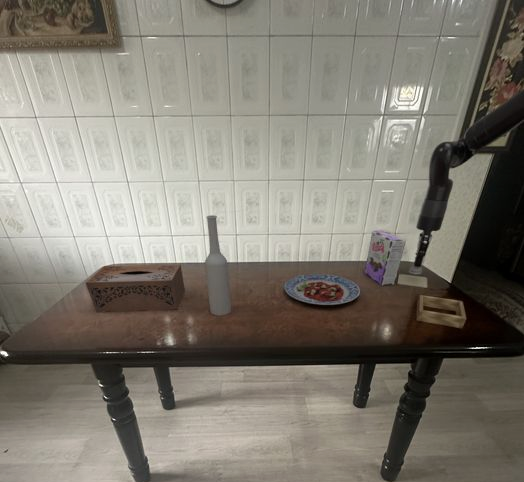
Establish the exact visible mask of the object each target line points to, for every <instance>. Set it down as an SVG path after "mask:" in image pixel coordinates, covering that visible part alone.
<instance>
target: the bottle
mask: <svg viewBox="0 0 524 482" xmlns="http://www.w3.org/2000/svg"><path fill="white" fill-rule="evenodd" d="M217 218H218V217H217V215H213V214H210V215H207V216H206V222H207V231H208V242H209V245H208V246H209V253H208V255H207V257H206V258H205V260H204V267H205V277H206V286H207V293H208V303H209V310H210V313H211V314H212V315H214V316H225V315H228V314H230V313H232V301H231V299H232V298H231V291H230V290H231V288H230V279H229V268H228V267H229V266H228V260H227V258H226V257H225V256H224V254H222V252H221V250H220V249H221V248H220V242H219V233H218V232H219V231H218V223H217Z"/></svg>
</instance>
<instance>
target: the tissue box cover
mask: <svg viewBox="0 0 524 482" xmlns="http://www.w3.org/2000/svg"><path fill="white" fill-rule="evenodd" d="M85 286H86V289H87V291H88V294H89V295H90V299H91V302H92V305H93V307H94V311H95V313H104V312H103V311H126V312H139V311H138V310H161V311H175V310H174V309H178V310H179V308H180V306H179V304H180V305H181V303H182V301H181V299H182V300H183V298H182V297H184V296H183V294H184V295H185V293H184V291H185V292H186V288H185V283H184V276H183V270H182V265H181V263H176V264H175V263H174V264H173V263H172V264H171V263H170V264H134V265H133V264H131V265H104V266H102V267H101V268H100V269H99V270H98V271H97V272H96V273H95V274H93V275H92V276H91V277H90V278H89V279H88V280H87V281H85ZM180 302H181V303H180ZM178 307H179V308H178ZM101 311H102V312H101Z"/></svg>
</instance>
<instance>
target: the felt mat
mask: <svg viewBox="0 0 524 482" xmlns="http://www.w3.org/2000/svg"><path fill="white" fill-rule="evenodd" d="M397 285H401V286H402V285H403V286H407V287H415V288H416V287H417V288H424V289H428V277H427V276H419V275H412V274H402V273H399V274H398V278H397Z"/></svg>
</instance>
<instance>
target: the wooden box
mask: <svg viewBox="0 0 524 482" xmlns="http://www.w3.org/2000/svg"><path fill="white" fill-rule="evenodd" d="M424 307H427V308H433V309H438V310H439V309H440V310H444V311H445V310H447V311H452V312H455V314H449V313H443V312H438V311H432V310H431V311H430V310H424ZM415 318H416V319H415V320H416V321H417V322H422V323H428V324H435V325H440V326H444V327H445V326H447V327H451V328H458V329H463V328H464V326H465V324H466V321H467V315H466V311H465V306H464V302H463V301H462V300H457V299H450V298H443V297H436V296H429V295H424V294H420V295H419V296H418V300H417V303H416V317H415Z"/></svg>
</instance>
